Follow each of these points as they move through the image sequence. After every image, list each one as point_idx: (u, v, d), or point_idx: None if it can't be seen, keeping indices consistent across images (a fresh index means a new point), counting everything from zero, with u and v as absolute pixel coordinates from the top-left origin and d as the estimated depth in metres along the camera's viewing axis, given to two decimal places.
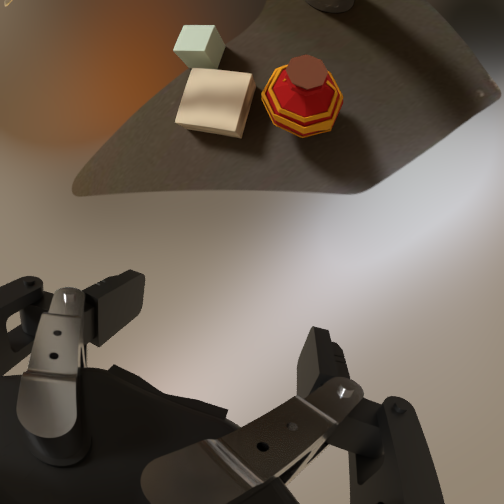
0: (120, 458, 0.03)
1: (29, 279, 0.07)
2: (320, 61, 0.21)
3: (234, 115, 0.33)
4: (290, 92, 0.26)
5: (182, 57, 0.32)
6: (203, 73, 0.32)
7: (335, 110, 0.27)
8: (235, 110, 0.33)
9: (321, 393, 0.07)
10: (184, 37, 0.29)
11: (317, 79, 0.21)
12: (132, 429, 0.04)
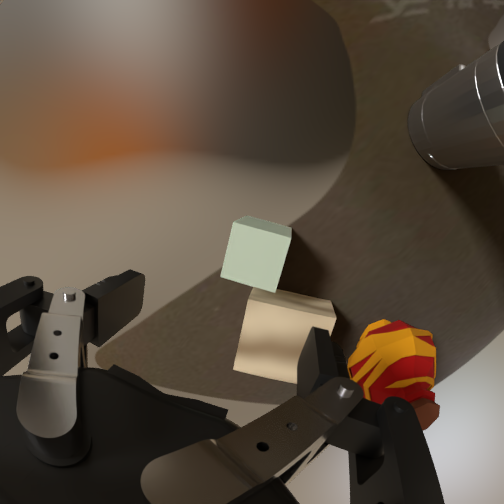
0: (120, 459, 0.03)
1: (29, 279, 0.07)
2: (437, 407, 0.15)
3: None
4: None
5: None
6: (266, 311, 0.27)
7: None
8: None
9: (321, 393, 0.07)
10: (238, 253, 0.23)
11: (424, 425, 0.16)
12: (132, 429, 0.04)
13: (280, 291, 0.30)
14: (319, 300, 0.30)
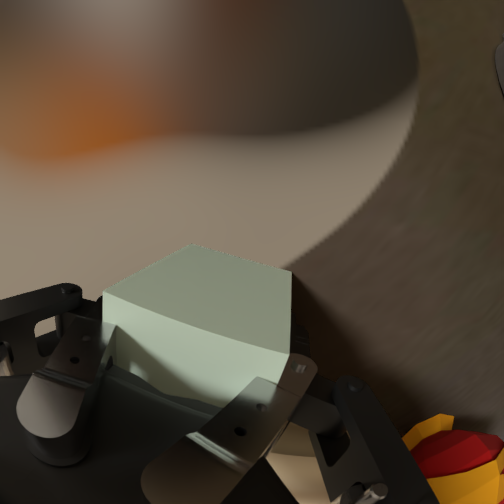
0: (120, 458, 0.03)
1: (67, 287, 0.08)
2: None
3: None
4: None
5: None
6: None
7: None
8: None
9: None
10: None
11: None
12: (132, 429, 0.04)
13: None
14: None
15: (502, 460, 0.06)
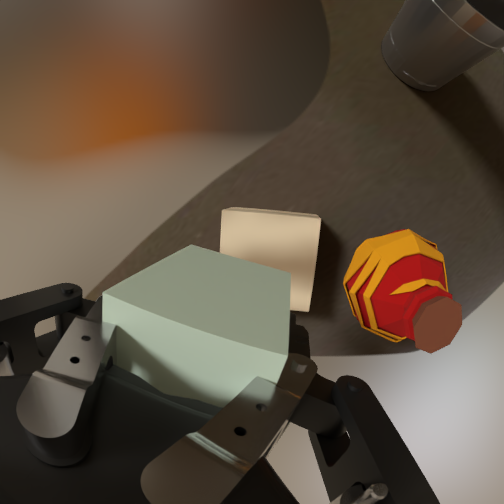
0: (120, 459, 0.03)
1: (67, 287, 0.08)
2: (459, 308, 0.13)
3: (305, 289, 0.25)
4: (396, 314, 0.18)
5: None
6: (243, 220, 0.25)
7: None
8: (305, 282, 0.25)
9: None
10: None
11: (446, 337, 0.14)
12: (132, 429, 0.04)
13: (260, 209, 0.29)
14: (303, 213, 0.28)
15: (418, 236, 0.20)
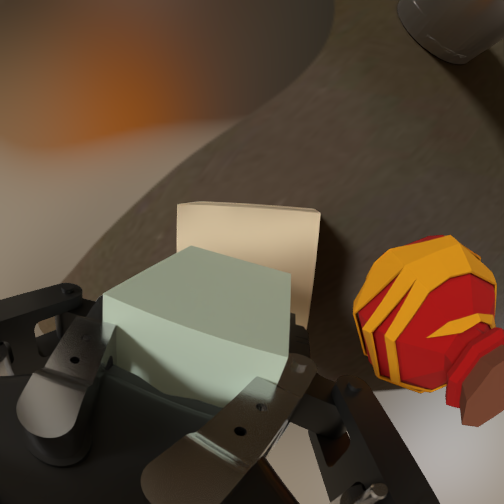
0: (120, 458, 0.03)
1: (67, 287, 0.08)
2: None
3: (298, 316, 0.17)
4: (430, 365, 0.10)
5: None
6: (206, 218, 0.17)
7: None
8: (299, 305, 0.17)
9: None
10: None
11: (502, 403, 0.06)
12: (132, 429, 0.04)
13: (235, 203, 0.21)
14: (295, 207, 0.20)
15: None
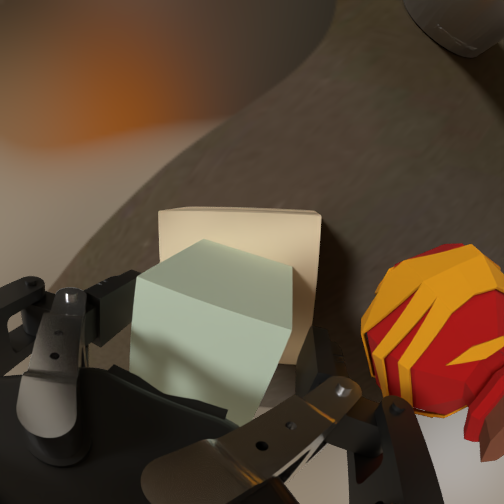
0: (120, 458, 0.03)
1: (30, 280, 0.07)
2: None
3: (299, 333, 0.15)
4: (448, 394, 0.08)
5: None
6: (191, 226, 0.15)
7: None
8: (299, 322, 0.15)
9: (319, 392, 0.07)
10: (156, 351, 0.09)
11: None
12: (132, 429, 0.04)
13: (226, 207, 0.19)
14: None
15: None
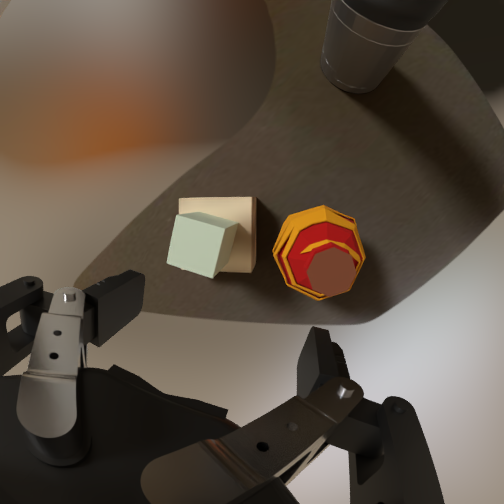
0: (120, 459, 0.03)
1: (29, 279, 0.07)
2: (349, 258, 0.21)
3: (245, 254, 0.33)
4: None
5: None
6: (194, 204, 0.32)
7: (355, 277, 0.27)
8: (245, 248, 0.32)
9: (321, 393, 0.07)
10: (180, 242, 0.26)
11: (342, 284, 0.21)
12: (132, 429, 0.04)
13: None
14: None
15: (333, 210, 0.28)
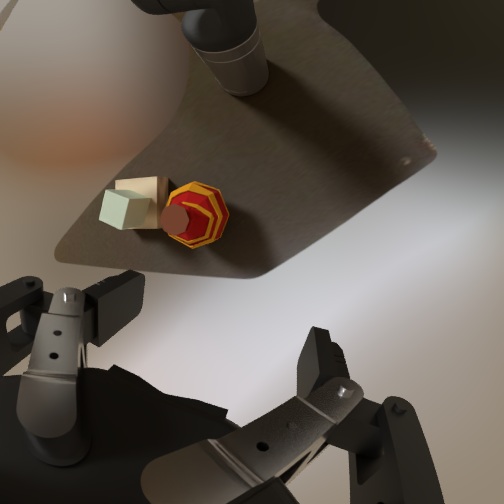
0: (120, 458, 0.03)
1: (29, 279, 0.07)
2: (183, 209, 0.33)
3: (153, 215, 0.45)
4: None
5: None
6: (124, 184, 0.44)
7: (214, 230, 0.39)
8: (153, 211, 0.45)
9: (321, 393, 0.07)
10: (106, 206, 0.38)
11: (181, 227, 0.34)
12: (132, 429, 0.04)
13: None
14: None
15: (201, 184, 0.40)
